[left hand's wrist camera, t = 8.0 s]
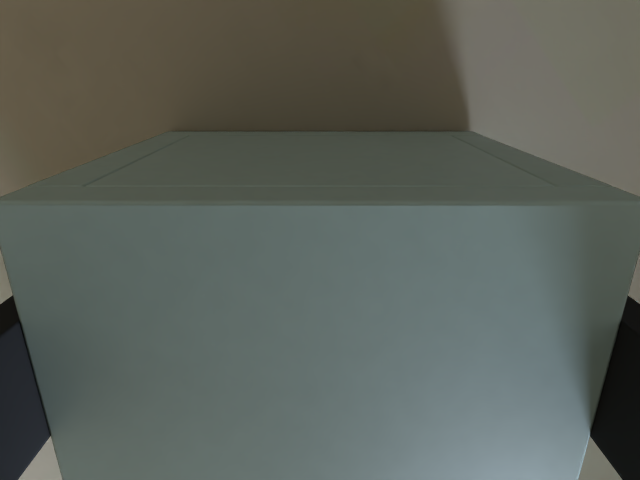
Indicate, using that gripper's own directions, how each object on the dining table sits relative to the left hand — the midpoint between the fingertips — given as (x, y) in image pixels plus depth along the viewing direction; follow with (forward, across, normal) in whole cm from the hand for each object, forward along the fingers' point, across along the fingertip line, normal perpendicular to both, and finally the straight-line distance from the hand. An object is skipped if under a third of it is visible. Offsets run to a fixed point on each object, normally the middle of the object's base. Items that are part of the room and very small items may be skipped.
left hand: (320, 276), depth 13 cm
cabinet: (+5, 0, -6) cm, 8 cm away
